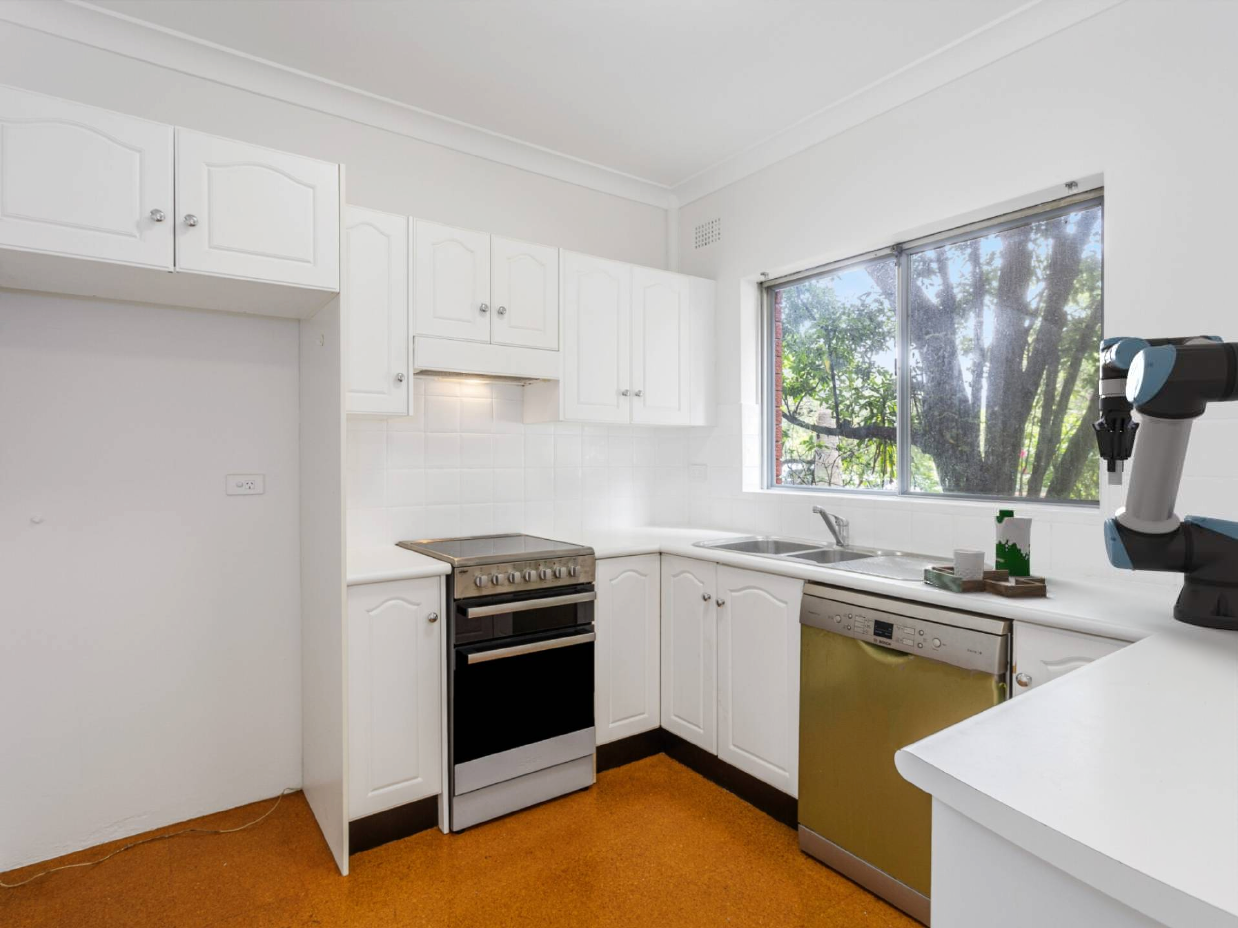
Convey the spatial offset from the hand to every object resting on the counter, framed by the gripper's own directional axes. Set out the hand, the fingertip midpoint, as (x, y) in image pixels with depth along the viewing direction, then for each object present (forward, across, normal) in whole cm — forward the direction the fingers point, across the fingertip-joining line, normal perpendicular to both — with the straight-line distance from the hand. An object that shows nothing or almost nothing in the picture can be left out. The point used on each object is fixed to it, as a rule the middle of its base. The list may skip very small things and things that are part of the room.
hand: (1115, 484), depth 180 cm
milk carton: (+30, +3, -32) cm, 44 cm away
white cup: (+30, +31, -16) cm, 46 cm away
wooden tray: (+29, +26, -16) cm, 42 cm away
